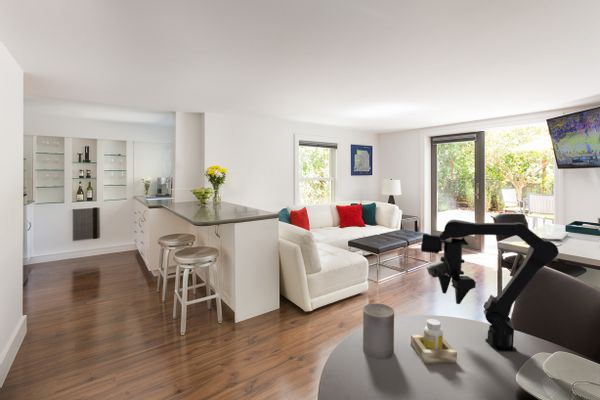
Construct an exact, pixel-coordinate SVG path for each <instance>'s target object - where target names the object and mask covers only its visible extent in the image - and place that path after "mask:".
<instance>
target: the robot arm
mask: <svg viewBox="0 0 600 400" xmlns="http://www.w3.org/2000/svg"><path fill="white" fill-rule="evenodd" d="M470 236H517V237H519V238H520V239H521V240H522V241H523V242H525V243H526V244H527V245H528V246H529V247H528V250H527V252H526V255H525V257H524V261H523V262H522V264H521V265H520V266H519V267H518V269H517V270H516V272H515V273H514V275H513V276H512V277H511V278H510V280H508V283H507V284H506V285H505V287H504V288H503V290H501V292H500V293H499V294H498V295H496V296H494V295H492V294H490V296H489V297H488V300H487V301H485V302H484V317H485V320H486V321H487V322H488V324H490V325H489V327H488V330H487V338H485V339H484V340H485V342H487V344H488V345H490V346H491V347H492V348H494V349H495V350H496V351H498V352H516V351H518V350H517V348H516V347H515V346H514V337H515V335H514V334H515V329H514V326H513V322H512V319H511V317H509V316H510V313H511V310H512V306H513V305H514V303H515V301H516V300H517V299H518V298H519V296H520V295H521V294H522V293H523V292H524V290H525V288H526V287H527V286H528V285H529V283H531V281H532V279H533V278H534V276H535V275H536V274H537V273H538V272H539V270H541V269H543V268H544V267H545V266H547V265H549V264H550V263H551V262H552V261H553V260H555V259H556V258H557V257H558V255H559V248H558V247H557V245H556V244H555V243H553V242H552V241H551V240H550V239H547V238H545V237H540V236H538V235H537V234H536V233H534V232H533V231H532V230H530V229H529V228H528V227H527V226H526V225H525V223H522V222H519V221H518V222H517V221H515V222H504V223H503V222H502V223H501V222H471V221H467V220H466V221H465V220H461V219H459V220H458V219H450V220H449V221H447V222H446V223H445V226H444V230H443V231H442V232H440V233H439V234H438V235H437V234H429V233H423V234H422V240H421V245H420V250H421V252H422V253H427V254H428V253H429V254H437V255H439V253H441V252H442V251H443V256H441V257H439V258H440V260H439V261H436V262H432V263H430V264H427V265H426V269H427V270H426V271H427V272H428V274H429V276H431V277H432V278H438V281H439V285H440V288H441V292H442V294H447V292H448V289H449V286H450V283H451V287H452V288H453V289H454V294H455V296H454V297H455V304H457V305H460V304H461V303H462V302H463V299H465V297H466V296H467V294H468V293H469V292H470V291H471V290H473V289H476V283H477V282H476V280H474V279H473V278H472V277H470V276H468V275H465V272H464V271H463V270H462V264H465V259H463V246H469V241H468V240H467V239H466V237H470ZM450 238H451V239H450Z"/></svg>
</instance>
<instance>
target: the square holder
mask: <svg viewBox="0 0 600 400" xmlns="http://www.w3.org/2000/svg"><path fill="white" fill-rule="evenodd" d="M410 346H411V347H412V349H413V350H414V352H415V353H416V354H417V356H418V357H419V359H420V360H421V362H422V363H423V364H457V362H458V361H457V359H458V357H457V356H458V351H456V350H455V349H454V348H453V346H452V345H451V344H450V343H449V342H448V341H447V339H445V338H444V337H443V338H442V350H427V349H426V348H425V347H424V334H410Z"/></svg>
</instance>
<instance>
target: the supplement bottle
mask: <svg viewBox="0 0 600 400" xmlns="http://www.w3.org/2000/svg"><path fill="white" fill-rule="evenodd" d="M423 335H424V347H425V348H426V349H427V350H442V338H444V337H443V335H444V334H443V330H442V329H441V322H440V321H439V320H437V319H434V318H428V319H427V320H426V325H425V327H424V330H423Z"/></svg>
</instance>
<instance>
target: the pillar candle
mask: <svg viewBox="0 0 600 400" xmlns="http://www.w3.org/2000/svg"><path fill="white" fill-rule="evenodd" d="M362 311H363V312H362V313H363V314H362V316H363V318H362V319H363V321H362V323H363V325H362V328H363V329H362V348H363V352H364V353H365V354H366V355H367V356H369V357H371V358H377V359H381V360H382V359H388V358H391V357H392V356H393V355H394V352H395V340H394V339H395V310H394V308H393V307H391V306H389V305H387V304H383V303H375V302H373V303H368V304H365V305H364V306H363V309H362Z"/></svg>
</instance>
